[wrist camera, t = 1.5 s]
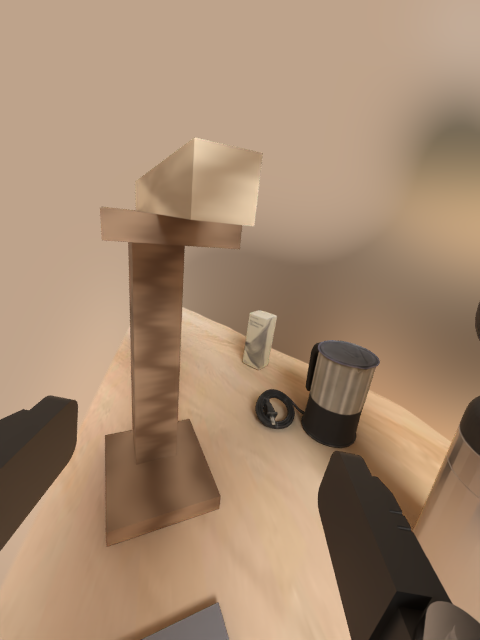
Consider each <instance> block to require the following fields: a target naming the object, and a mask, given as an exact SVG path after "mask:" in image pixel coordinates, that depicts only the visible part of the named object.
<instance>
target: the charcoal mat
mask: <svg viewBox="0 0 480 640" xmlns="http://www.w3.org/2000/svg"><path fill="white" fill-rule="evenodd" d="M141 640H229V637H228V634H227V630H226V627H225V623H224V620H223V617H222V613H221V610H220V606H219V603H216V604H213V605H211V606H209V607H207V608H205V609H203V610H201V611H199V612H197V613H195V614H193V615H191V616H189V617H187V618H185V619H183V620H181V621H179V622H176V623H174V624H172V625H170V626H168V627H166V628H164V629H162V630H160V631H158V632H156V633H154V634H152V635H150V636H148V637H146V638H144V639H141Z"/></svg>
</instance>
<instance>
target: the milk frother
mask: <svg viewBox="0 0 480 640" xmlns="http://www.w3.org/2000/svg"><path fill="white" fill-rule="evenodd" d="M379 363H380V361H379V358H378V357H377V356H376V355H375V354H374V353H372V352H371V351H369V350H367V349H366V348H363V347H361V346H358V345H356V344H353V343H349V342H344V341H334V340H330V341H324V342H321V343H317V344H315V345H314V347H313V349H312V351H311V357H310V363H309V368H308V374H307V381H306V389H307V390H308V391H310V394H309V399H308V402H307V406H306V410H305V412H304V411H302V410H301V409H299V408H298V407H297V406H296V404H295V403H294V402H293V401H292V400H291V399H290V398H289V397H288V396H287V395H285V394H284V393H283V392H281V391H278V390H274V389H270V390H267V391H265V392H264V393H262V394H261V396H259V398H258V400H257V403H256V407H255V411H256V414H257V417H258V419H259V420H260V421H261V422H262V423H263V424H264V425H266V426H267V427H270V428H274V429H282V428H286V427H288V426H289V425H290V424H291V423H292V421H293V419H294V416H295V412H294V407H295V408H296V409H297V410H298V411H299V412H300V413H302V414H303V417H302V420H301V422H302V426H303V428H304V430H305V431H306V433H307V434H308V435H309V436H311V437H312V438H313V439H315V440H316V441H318V442H320V443H322V444H324V445H327V446H331V447H338V448H342V447H347V446H350V445H351V444H353V443H354V441H355V439H356V430H357V426H358V422H359V419H360V415H361V412H362V409H363V406H364V403H365V400H366V397H367V394H368V391H369V387H370V384H371V381H372V378H373V374H374V372H375V368H376V366H378V365H379ZM270 398H277V399H279V400H281V401H282V402H283V403H284V404H285V405H286V407H287V410H288V414H287V417H286V418H285V419H284V420H283V421H279V422H276V421H275V417H276V416H277V412H275V411H274V408H273V407H272V404H271V403H270V402H269V399H270ZM293 406H294V407H293ZM263 410H264V412H263Z"/></svg>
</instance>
